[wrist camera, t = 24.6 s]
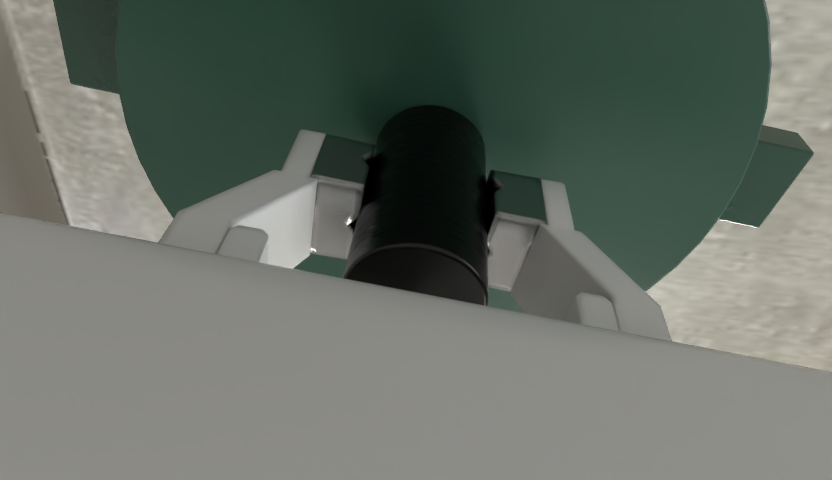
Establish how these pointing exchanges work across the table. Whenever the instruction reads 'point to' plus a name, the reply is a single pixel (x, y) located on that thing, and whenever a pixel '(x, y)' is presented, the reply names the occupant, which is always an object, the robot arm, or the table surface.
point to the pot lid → (458, 116)
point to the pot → (96, 68)
